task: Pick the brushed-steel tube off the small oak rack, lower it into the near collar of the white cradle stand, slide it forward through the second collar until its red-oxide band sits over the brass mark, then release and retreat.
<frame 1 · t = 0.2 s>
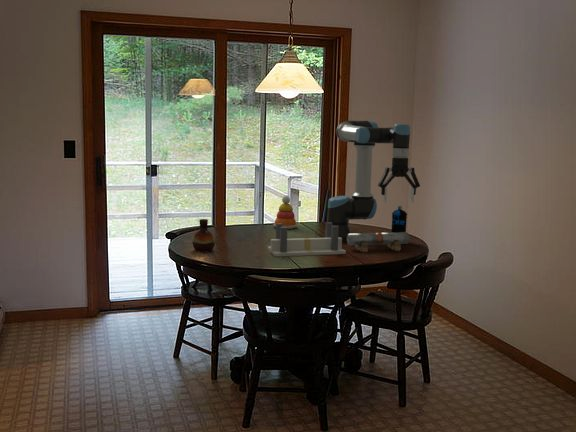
hand: (398, 201, 296), 27 cm above the table, fingers open, 13 cm apart
stacking toy: (285, 227, 373), on the table
white cradle stand: (306, 251, 309), on the table
tube: (377, 244, 318), point 2 cm above the table, touching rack
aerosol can: (398, 242, 337), on the table
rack: (377, 249, 318), on the table
vase: (203, 250, 307), on the table
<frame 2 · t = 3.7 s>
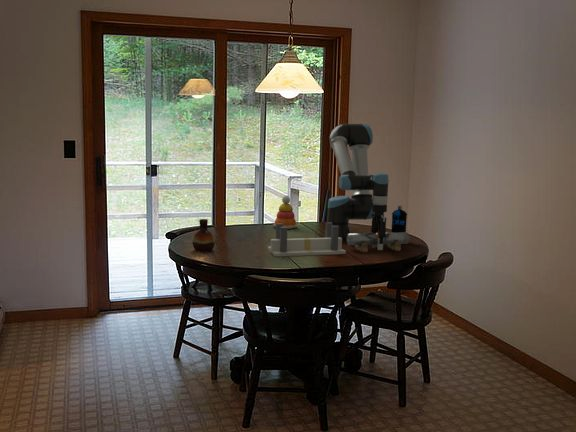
hand: (377, 248, 318), 0 cm above the table, fingers closed on tube, 6 cm apart
tube: (377, 244, 318), point 2 cm above the table, touching gripper, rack
everything else where it was.
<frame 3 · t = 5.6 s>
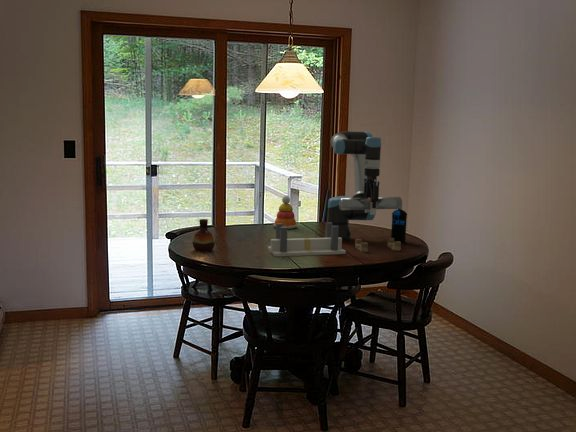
hand: (370, 213, 314), 19 cm above the table, fingers closed on tube, 6 cm apart
tube: (370, 209, 314), point 21 cm above the table, touching gripper
everything else where it was.
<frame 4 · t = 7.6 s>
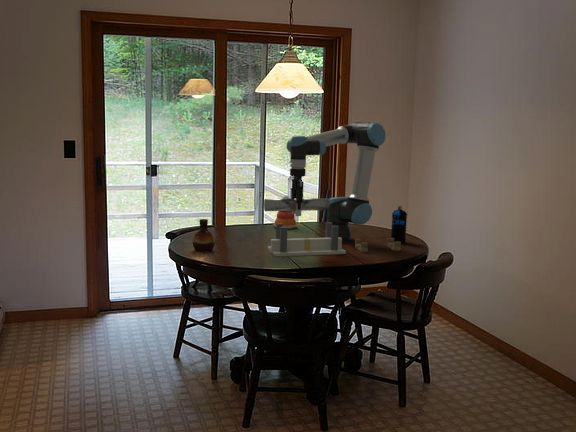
hand: (296, 214, 305), 19 cm above the table, fingers closed on tube, 6 cm apart
tube: (296, 210, 304), point 21 cm above the table, touching gripper
everything else where it was.
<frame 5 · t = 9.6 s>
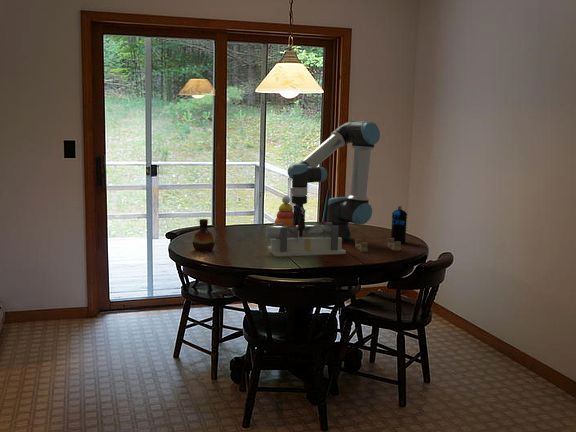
hand: (298, 241, 307), 5 cm above the table, fingers closed on tube, 6 cm apart
tube: (298, 237, 307), point 7 cm above the table, touching gripper
everything else where it was.
when the fingers open (5 cm above the table, at t = 11.5 s): tube stays where it is, resting on white cradle stand.
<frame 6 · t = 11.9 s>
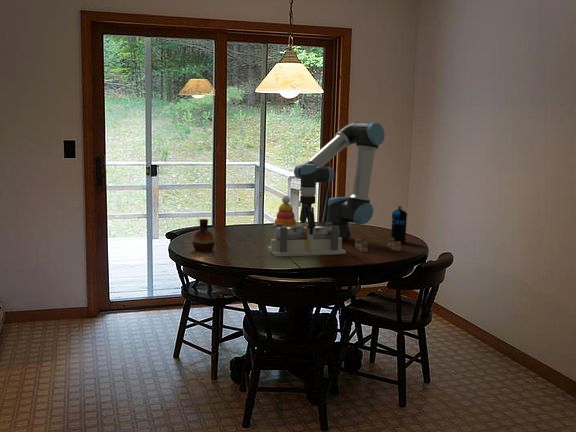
hand: (306, 238, 308), 7 cm above the table, fingers open, 12 cm apart
tube: (306, 238, 308), point 7 cm above the table, touching white cradle stand
everything else where it was.
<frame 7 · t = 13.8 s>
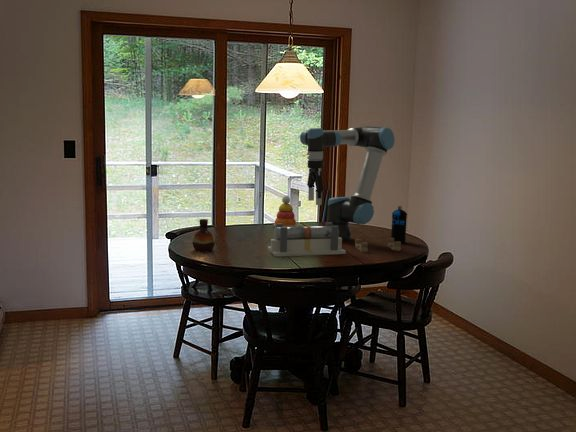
hand: (314, 202, 308), 24 cm above the table, fingers open, 13 cm apart
tube: (306, 238, 308), point 7 cm above the table, tilted 16°, touching white cradle stand
everything else where it was.
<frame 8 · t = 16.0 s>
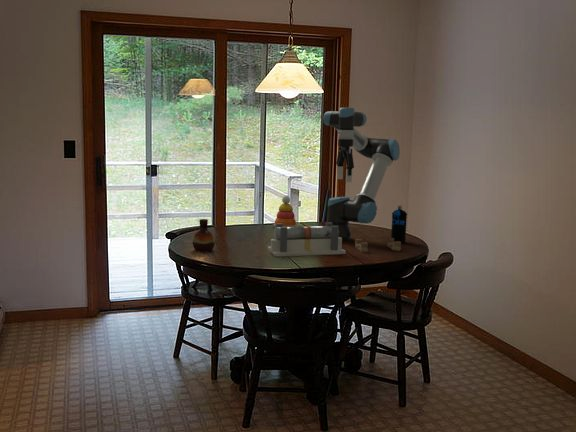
hand: (344, 180, 315), 35 cm above the table, fingers open, 13 cm apart
nothing on the table moved.
at the end: tube 0.1 cm off-centre on the white cradle stand, point 6.6 cm above the white cradle stand's base; the gripper is holding nothing; tube touching white cradle stand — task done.
